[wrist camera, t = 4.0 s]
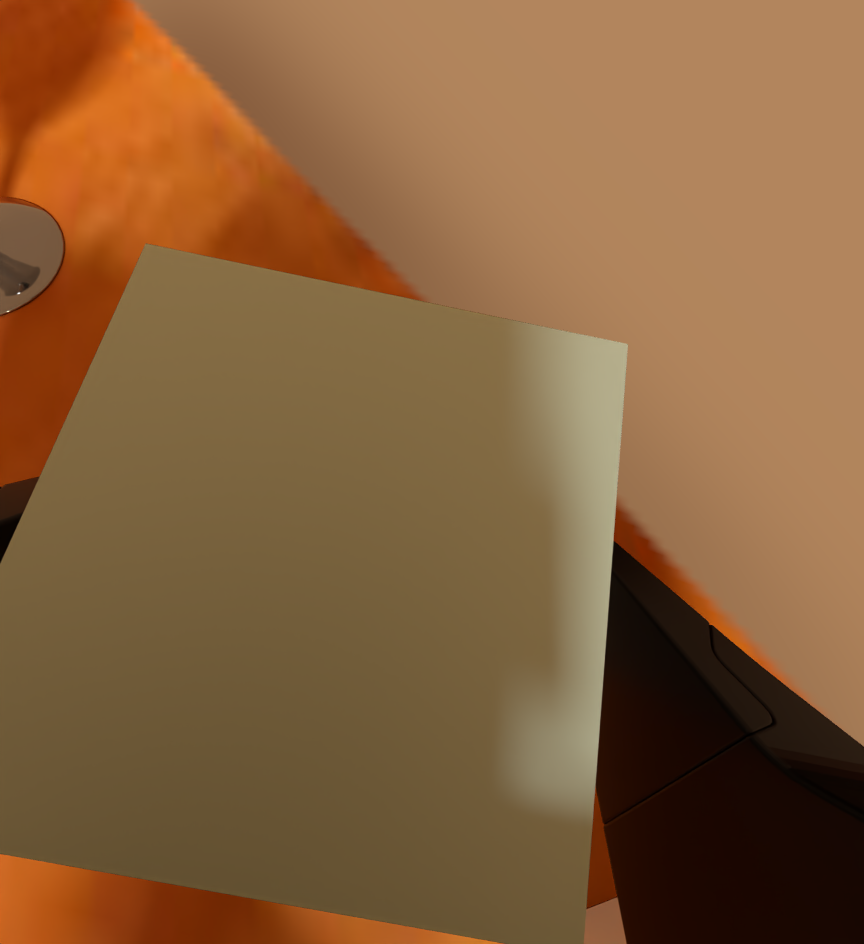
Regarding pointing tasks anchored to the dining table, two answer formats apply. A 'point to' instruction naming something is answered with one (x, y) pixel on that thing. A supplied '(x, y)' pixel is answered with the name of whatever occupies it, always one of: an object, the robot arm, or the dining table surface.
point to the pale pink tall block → (604, 924)
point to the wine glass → (26, 252)
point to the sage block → (319, 605)
